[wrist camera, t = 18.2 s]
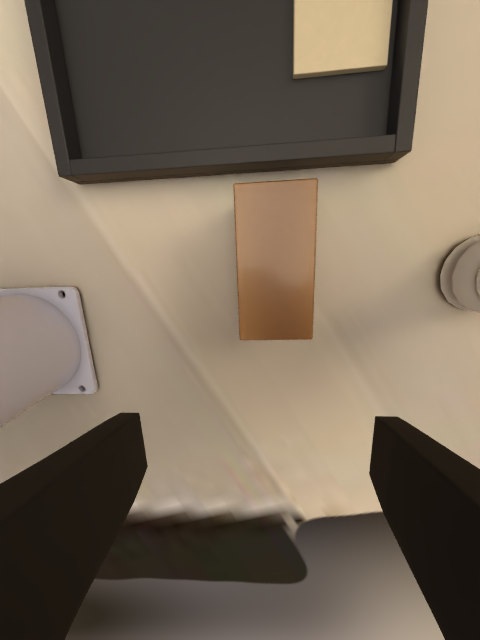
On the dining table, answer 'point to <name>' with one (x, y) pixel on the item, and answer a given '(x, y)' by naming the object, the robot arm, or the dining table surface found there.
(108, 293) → the dining table surface
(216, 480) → the dining table surface
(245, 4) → the tray
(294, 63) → the paper scrap
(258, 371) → the dining table surface
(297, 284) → the eraser
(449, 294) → the rook chess piece
